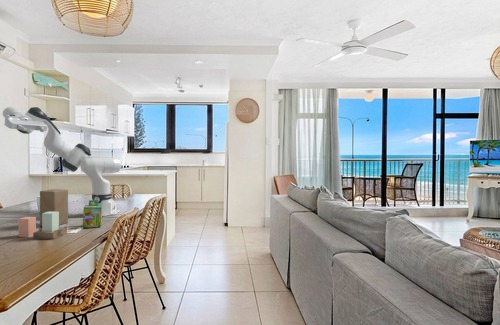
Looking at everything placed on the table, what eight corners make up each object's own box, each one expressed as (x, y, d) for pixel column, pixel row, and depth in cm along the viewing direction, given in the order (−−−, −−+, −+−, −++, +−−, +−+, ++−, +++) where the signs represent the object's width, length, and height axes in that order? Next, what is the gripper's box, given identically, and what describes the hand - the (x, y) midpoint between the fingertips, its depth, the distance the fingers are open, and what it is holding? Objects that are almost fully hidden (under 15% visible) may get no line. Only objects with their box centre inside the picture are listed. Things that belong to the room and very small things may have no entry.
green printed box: (82, 228, 166) (83, 201, 166) (84, 224, 174) (85, 199, 174) (101, 227, 170) (101, 201, 169) (101, 223, 178) (102, 199, 178)
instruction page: (67, 227, 168) (67, 227, 168) (84, 227, 169) (84, 226, 169) (57, 233, 156) (57, 232, 156) (75, 233, 157) (75, 232, 157)
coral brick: (26, 234, 153) (26, 216, 153) (35, 234, 153) (35, 217, 153) (18, 236, 148) (18, 218, 148) (28, 237, 148) (28, 219, 148)
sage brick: (49, 228, 153) (49, 211, 153) (58, 229, 153) (58, 211, 152) (42, 231, 148) (42, 213, 148) (52, 231, 148) (52, 213, 147)
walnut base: (47, 233, 156) (47, 227, 155) (66, 233, 155) (66, 228, 155) (33, 238, 146) (33, 232, 145) (53, 239, 145) (53, 233, 145)
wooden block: (54, 226, 169) (54, 191, 168) (39, 225, 171) (39, 190, 170) (68, 223, 179) (68, 189, 178) (54, 221, 181) (54, 189, 180)
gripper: (39, 127, 189) (51, 136, 184) (1, 124, 171) (13, 134, 166) (41, 118, 188) (54, 126, 183) (3, 114, 170) (15, 123, 164)
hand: (34, 130), depth 174 cm, fingers open, 8 cm apart
